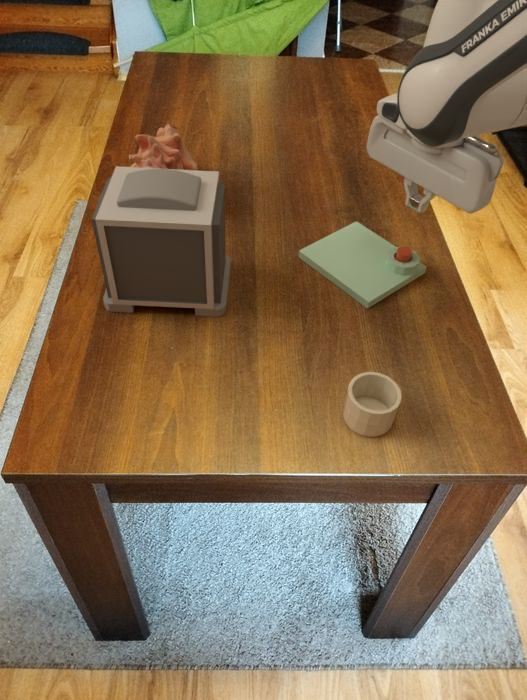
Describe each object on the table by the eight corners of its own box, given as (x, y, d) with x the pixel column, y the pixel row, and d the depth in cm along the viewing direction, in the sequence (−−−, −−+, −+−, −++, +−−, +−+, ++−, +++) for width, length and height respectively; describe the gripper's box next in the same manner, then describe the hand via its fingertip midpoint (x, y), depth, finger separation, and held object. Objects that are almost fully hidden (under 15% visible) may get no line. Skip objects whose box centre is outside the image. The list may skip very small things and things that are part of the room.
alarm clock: (231, 261, 95) (230, 160, 81) (225, 317, 86) (223, 213, 72) (120, 256, 95) (101, 153, 81) (103, 311, 86) (78, 206, 72)
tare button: (413, 259, 93) (415, 251, 92) (403, 265, 92) (405, 257, 91) (401, 252, 94) (404, 244, 93) (392, 257, 93) (394, 250, 92)
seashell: (225, 209, 99) (161, 155, 88) (170, 250, 105) (105, 203, 94) (215, 135, 111) (158, 80, 101) (167, 175, 117) (109, 127, 107)
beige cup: (403, 419, 74) (412, 395, 71) (369, 445, 71) (376, 422, 68) (366, 387, 78) (373, 363, 74) (332, 412, 75) (337, 388, 71)
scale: (424, 273, 95) (429, 259, 93) (367, 308, 88) (370, 294, 86) (355, 227, 103) (357, 213, 101) (297, 257, 96) (299, 242, 94)
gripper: (521, 144, 72) (485, 234, 82) (398, 86, 82) (379, 172, 92) (493, 159, 69) (458, 250, 79) (368, 97, 79) (352, 185, 89)
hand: (415, 208), depth 86 cm, fingers closed
